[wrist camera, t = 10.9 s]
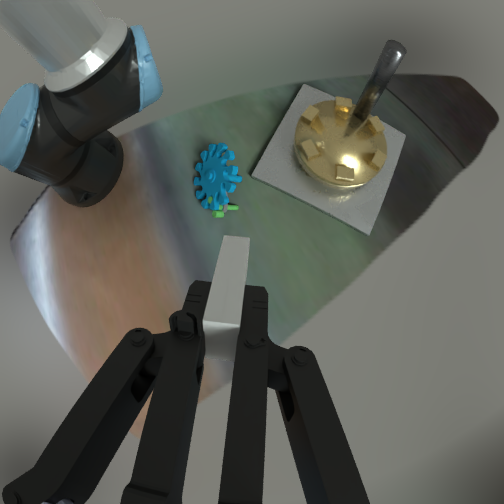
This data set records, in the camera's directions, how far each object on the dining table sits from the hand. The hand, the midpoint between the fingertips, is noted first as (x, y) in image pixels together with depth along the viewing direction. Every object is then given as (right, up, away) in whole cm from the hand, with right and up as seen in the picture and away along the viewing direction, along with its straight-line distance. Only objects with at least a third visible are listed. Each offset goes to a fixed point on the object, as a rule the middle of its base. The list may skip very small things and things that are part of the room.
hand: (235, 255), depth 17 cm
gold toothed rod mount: (+14, +16, +22) cm, 31 cm away
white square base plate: (+14, +16, +26) cm, 34 cm away
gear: (-4, +10, +27) cm, 29 cm away
